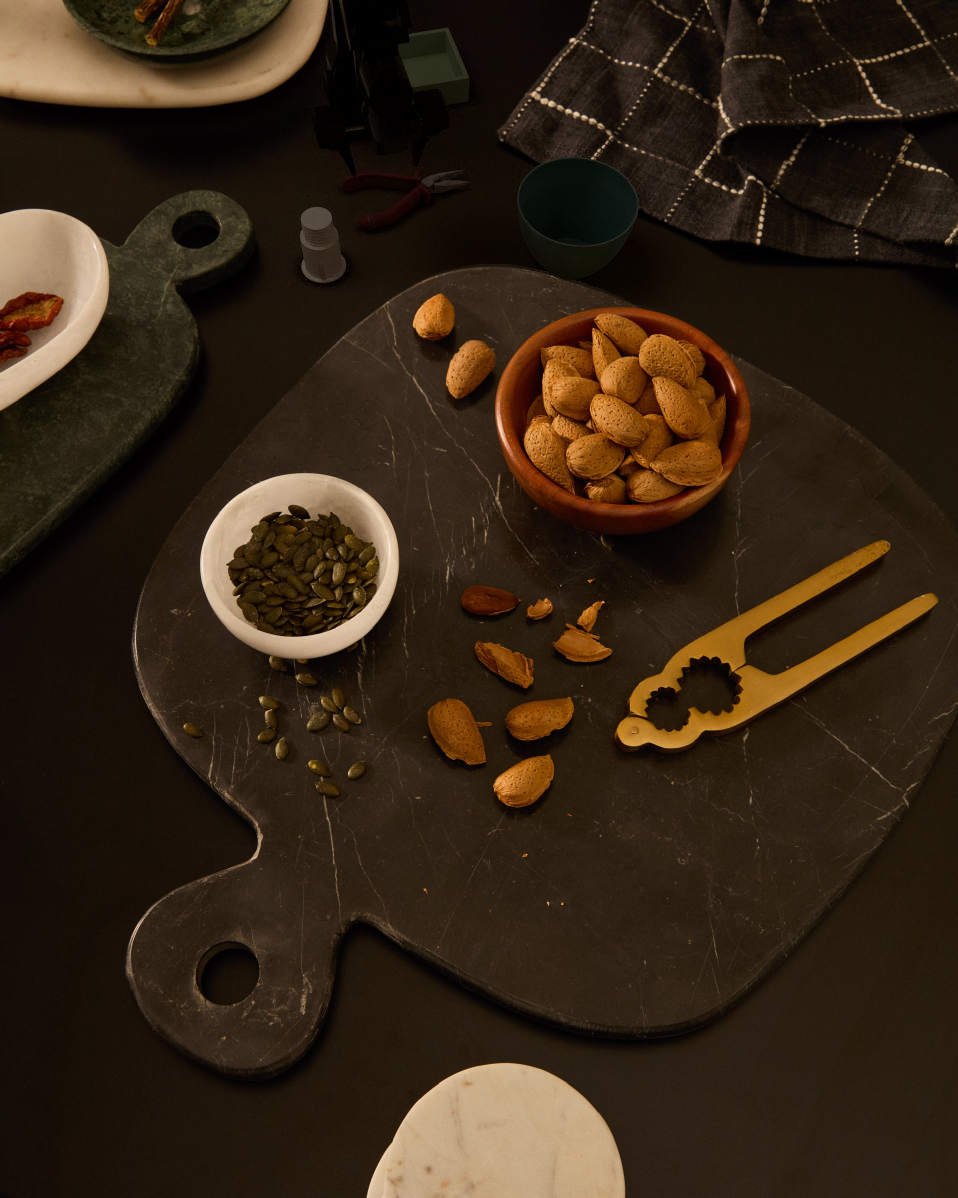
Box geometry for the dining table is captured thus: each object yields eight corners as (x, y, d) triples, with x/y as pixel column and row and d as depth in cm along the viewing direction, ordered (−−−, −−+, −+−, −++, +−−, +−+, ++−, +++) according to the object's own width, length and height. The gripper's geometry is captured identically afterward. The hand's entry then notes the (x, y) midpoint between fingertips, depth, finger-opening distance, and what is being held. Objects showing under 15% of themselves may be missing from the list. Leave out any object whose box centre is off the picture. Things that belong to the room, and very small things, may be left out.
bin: (375, 63, 175) (373, 39, 171) (448, 51, 177) (448, 27, 173) (393, 114, 170) (392, 90, 165) (468, 101, 172) (469, 77, 167)
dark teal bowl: (646, 252, 157) (661, 191, 146) (585, 322, 151) (595, 264, 140) (554, 202, 162) (561, 139, 151) (490, 268, 155) (493, 207, 144)
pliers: (479, 205, 161) (479, 193, 158) (362, 235, 157) (361, 222, 155) (455, 159, 165) (455, 146, 163) (341, 186, 162) (340, 173, 160)
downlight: (346, 285, 153) (340, 237, 144) (301, 287, 152) (292, 238, 143) (346, 247, 156) (339, 197, 147) (302, 249, 156) (293, 199, 147)
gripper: (318, 118, 125) (332, 217, 139) (459, 96, 127) (459, 196, 141) (303, 65, 130) (318, 166, 144) (439, 45, 132) (441, 146, 146)
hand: (384, 169), depth 144 cm, fingers open, 9 cm apart
